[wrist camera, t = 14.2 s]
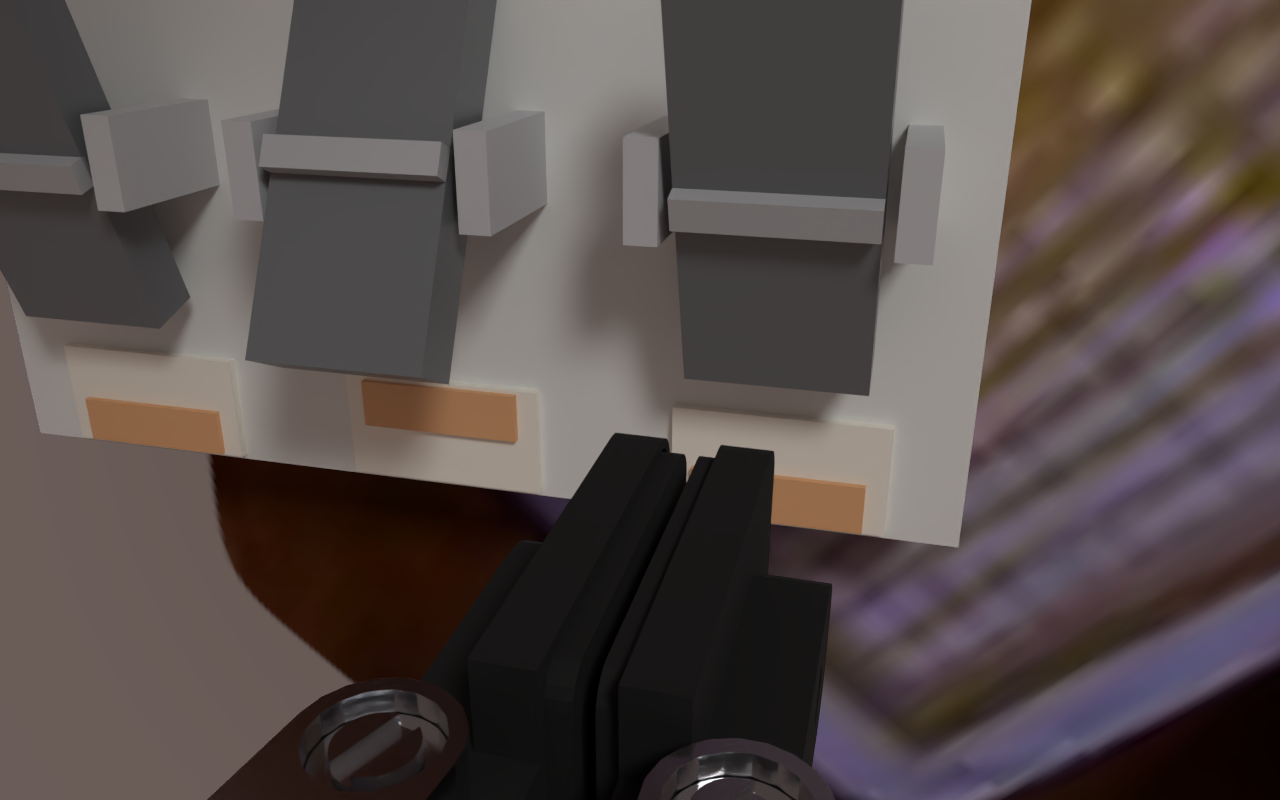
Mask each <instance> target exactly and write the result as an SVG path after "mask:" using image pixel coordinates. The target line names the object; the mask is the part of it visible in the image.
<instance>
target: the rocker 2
mask: <svg viewBox="0 0 1280 800" xmlns="http://www.w3.org/2000/svg"><path fill="white" fill-rule="evenodd" d="M496 3H497V0H294V3H293V11H292V18H291V25H290V33H289V40H288V48H287V55H286V62H285V70H284V77H283V84H282V92H281V99H280V106H279V114H278V121H277V129H276V134H263V138H262V146H261V153H260V160H259V167H260V168H262V169H264V170H266V171H268V172H270V180H269V187H268V195H267V202H266V210H265V217H264V224H263V232H262V239H261V246H260V254H259V261H258V268H257V276H256V283H255V291H254V298H253V305H252V313H251V320H250V327H249V335H248V342H247V349H246V357H245V360H246V361H251V362H256V363H261V364H266V365H271V366H276V367H281V368H290V369H300V370H310V371H320V372H330V373H340V374H349V375H359V376H369V377H379V378H389V379H399V380H409V381H419V382H428V383H438V384H448V385H449V380H450V372H451V364H452V356H453V348H454V340H455V332H456V324H457V316H458V308H459V300H460V292H461V284H462V276H463V268H464V260H465V252H466V244H467V236H468V235H462V234H459V225H458V208H457V192H456V175H455V159H454V142H453V130H454V129H457V128H461V127H464V126H467V125H470V124H473V123H476V122H480V121H482V115H483V107H484V99H485V91H486V83H487V75H488V67H489V59H490V51H491V43H492V35H493V27H494V19H495V11H496Z"/></svg>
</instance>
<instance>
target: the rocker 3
mask: <svg viewBox="0 0 1280 800" xmlns="http://www.w3.org/2000/svg"><path fill="white" fill-rule="evenodd" d="M903 9H904V0H661V12H662V29H663V45H664V61H665V77H666V93H667V109H668V126H669V142H670V158H671V174H672V190H671V192H670V194H669V197H668V199H667V201H668V216H669V231H673V232H675V239H676V255H677V271H678V287H679V303H680V320H681V336H682V352H683V368H684V379H693V380H703V381H714V382H724V383H735V384H746V385H756V386H767V387H777V388H788V389H798V390H809V391H819V392H830V393H841V394H851V395H862V396H869V393H870V385H871V377H872V369H873V361H874V351H875V339H876V327H877V316H878V304H879V292H880V280H881V268H882V257H883V245H884V233H885V221H886V210H887V198H888V186H889V174H890V162H891V151H892V139H893V127H894V115H895V104H896V92H897V80H898V68H899V56H900V45H901V33H902V21H903Z"/></svg>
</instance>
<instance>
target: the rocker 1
mask: <svg viewBox="0 0 1280 800" xmlns="http://www.w3.org/2000/svg"><path fill="white" fill-rule="evenodd" d="M106 110H111V108H110V106H109V103H108V101H107V99H106V96H105V94H104V91H103V89H102V87H101V84H100V82H99V80H98V77H97V75H96V72H95V70H94V68H93V65H92V63H91V61H90V58H89V56H88V54H87V51H86V49H85V46H84V44H83V42H82V39H81V37H80V35H79V32H78V30H77V27H76V25H75V23H74V20H73V18H72V16H71V13H70V11H69V9H68V6H67V4H66V1H65V0H0V270H1V272H2V273H3V275H4V277H5V279H6V281H7V282H8V284H9V286H10V288H11V290H12V291H13V293H14V295H15V297H16V299H17V301H18V302H19V304H20V306H21V308H22V310H23V311H24V313H25V315H26V316H30V317H40V318H51V319H61V320H72V321H82V322H93V323H103V324H114V325H125V326H135V327H146V328H156V329H160V328H161V327H162V326H163V325H164V324H165V323H166V322H167V321H168V320H169V319H170V318H171V317H172V316H173V315H174V314H175V313H176V312H177V311H178V310H179V309H180V307H181V306H182V305H183V304H184V303H185V302H186V301H187V300H188V299H189V298H190V295H189V293H188V290H187V288H186V286H185V283H184V281H183V278H182V276H181V274H180V271H179V269H178V267H177V264H176V262H175V260H174V257H173V255H172V252H171V250H170V248H169V245H168V243H167V241H166V238H165V236H164V234H163V231H162V229H161V226H160V224H159V222H158V219H157V217H156V215H155V212H154V210H153V207H152V205H148V206H145V207H142V208H138V209H135V210H131V211H128V212H112V211H98V207H97V202H96V197H95V191H94V186H93V181H92V175H91V170H90V165H89V160H88V154H87V149H86V144H85V138H84V133H83V128H82V122H81V117H80V115H81V114H87V113H93V112H100V111H106Z"/></svg>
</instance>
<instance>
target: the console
mask: <svg viewBox="0 0 1280 800" xmlns="http://www.w3.org/2000/svg"><path fill="white" fill-rule="evenodd" d="M65 1H66V4H67V6H68V9H69V11H70V13H71V16H72V18H73V20H74V23H75V25H76V27H77V30H78V32H79V35H80V37H81V39H82V42H83V44H84V46H85V49H86V51H87V54H88V56H89V58H90V61H91V63H92V65H93V68H94V70H95V72H96V75H97V77H98V80H99V82H100V84H101V87H102V89H103V91H104V94H105V96H106V99H107V101H108V103H109V106H110V108H111V110H106V111H100V112H93V113H87V114H81V115H80V117H81V122H82V128H83V133H84V138H85V144H86V149H87V154H88V160H89V165H90V170H91V175H92V181H93V186H94V191H95V197H96V202H97V207H98V211H112V212H128V211H131V210H135V209H138V208H142V207H145V206H148V205H152V207H153V210H154V212H155V215H156V217H157V219H158V222H159V224H160V226H161V229H162V231H163V234H164V236H165V238H166V241H167V243H168V245H169V248H170V250H171V252H172V255H173V257H174V260H175V262H176V264H177V267H178V269H179V271H180V274H181V276H182V278H183V281H184V283H185V286H186V288H187V290H188V293H189V295H190V298H189V299H188V300H187V301H186V302H185V303H184V304H183V305H182V306H181V307H180V309H179V310H178V311H177V312H176V313H175V314H174V315H173V316H172V317H171V318H170V319H169V320H168V321H167V322H166V323H165V324H164V325H163V326H162V327H161V328H160V329H156V328H146V327H135V326H125V325H114V324H103V323H93V322H82V321H72V320H61V319H51V318H40V317H30V316H26V315H25V313H24V311H23V310H22V308H21V306H20V304H19V302H18V301H17V299H16V297H15V295H14V293H13V291H12V290H11V288H10V286H9V284H8V282H7V281H6V283H7V287H8V291H9V296H10V300H11V305H12V309H13V313H14V318H15V322H16V326H17V331H18V335H19V340H20V344H21V349H22V352H23V357H24V361H25V366H26V371H27V375H28V379H29V384H30V388H31V393H32V397H33V401H34V406H35V410H36V415H37V419H38V424H39V428H40V432H41V433H46V434H54V435H62V436H70V437H78V438H87V439H94V440H103V441H110V442H118V443H127V444H135V445H143V446H150V447H158V448H167V449H174V450H183V451H191V452H199V453H207V454H215V455H223V456H231V457H239V458H247V459H255V460H263V461H271V462H279V463H287V464H295V465H303V466H311V467H319V468H327V469H335V470H343V471H351V472H359V473H367V474H375V475H383V476H391V477H399V478H407V479H415V480H423V481H431V482H439V483H447V484H455V485H463V486H471V487H479V488H487V489H495V490H503V491H511V492H519V493H527V494H535V495H543V496H551V497H559V498H567V499H571V498H572V497H573V495H574V494H575V492H576V491H577V489H578V488H579V486H580V484H581V483H582V481H583V480H584V478H585V477H586V475H587V474H588V472H589V471H590V469H591V467H592V466H593V464H594V463H595V461H596V460H597V458H598V457H599V455H600V454H601V452H602V451H603V449H604V447H605V446H606V444H607V443H608V441H609V440H610V438H611V437H612V435H613V434H614V433H624V434H632V435H641V436H650V437H658V438H666V439H667V440H668V442H669V448H670V453H679V454H685V456H686V462H687V476H686V483H687V481H688V478H689V476H690V474H691V472H692V470H693V468H694V465H695V463H696V461H697V459H698V457H699V456H704V457H712V458H715V456H716V454H717V452H718V449H719V447H720V446H721V445H727V446H736V447H744V448H753V449H761V450H770V451H774V457H775V465H774V483H773V499H772V515H771V524H775V525H783V526H791V527H799V528H807V529H815V530H823V531H831V532H839V533H847V534H855V535H863V536H871V537H879V538H887V539H895V540H903V541H911V542H919V543H927V544H935V545H943V546H951V547H958V545H959V537H960V530H961V523H962V515H963V508H964V500H965V493H966V485H967V478H968V470H969V463H970V455H971V448H972V441H973V433H974V426H975V418H976V411H977V403H978V396H979V388H980V381H981V373H982V366H983V359H984V351H985V344H986V336H987V329H988V321H989V314H990V306H991V299H992V291H993V284H994V277H995V269H996V262H997V254H998V247H999V239H1000V232H1001V224H1002V217H1003V209H1004V202H1005V195H1006V187H1007V180H1008V172H1009V165H1010V157H1011V150H1012V142H1013V135H1014V127H1015V120H1016V112H1017V105H1018V98H1019V90H1020V83H1021V75H1022V68H1023V60H1024V53H1025V45H1026V38H1027V30H1028V23H1029V16H1030V8H1031V1H1032V0H904V9H903V21H902V33H901V45H900V56H899V68H898V80H897V92H896V104H895V115H894V127H893V139H892V151H891V162H890V174H889V186H888V198H887V210H886V221H885V233H884V245H883V257H882V268H881V280H880V292H879V304H878V316H877V327H876V339H875V351H874V361H873V369H872V377H871V385H870V393H869V396H862V395H851V394H841V393H830V392H819V391H809V390H798V389H788V388H777V387H767V386H756V385H746V384H735V383H724V382H714V381H703V380H693V379H684V368H683V352H682V336H681V320H680V303H679V287H678V271H677V255H676V239H675V232H673V231H669V216H668V201H667V199H668V197H669V194H670V192H671V190H672V174H671V158H670V142H669V126H668V109H667V93H666V77H665V61H664V45H663V29H662V12H661V0H497V3H496V11H495V19H494V27H493V35H492V43H491V51H490V59H489V67H488V75H487V83H486V91H485V99H484V107H483V115H482V121H480V122H476V123H473V124H470V125H467V126H464V127H461V128H457V129H454V130H453V142H454V159H455V175H456V192H457V208H458V225H459V234H462V235H468V236H467V244H466V252H465V260H464V268H463V276H462V284H461V292H460V300H459V308H458V316H457V324H456V332H455V340H454V348H453V356H452V364H451V372H450V380H449V385H448V384H438V383H428V382H419V381H409V380H399V379H389V378H379V377H369V376H359V375H349V374H340V373H330V372H320V371H310V370H300V369H290V368H281V367H276V366H271V365H266V364H261V363H256V362H251V361H246V360H245V357H246V349H247V342H248V335H249V327H250V320H251V313H252V305H253V298H254V291H255V283H256V276H257V268H258V261H259V254H260V246H261V239H262V232H263V224H264V217H265V210H266V202H267V195H268V187H269V180H270V172H268V171H266V170H264V169H262V168H260V167H259V160H260V153H261V146H262V138H263V134H276V129H277V121H278V114H279V106H280V99H281V92H282V84H283V77H284V70H285V62H286V55H287V48H288V40H289V33H290V25H291V18H292V11H293V3H294V0H65Z"/></svg>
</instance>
